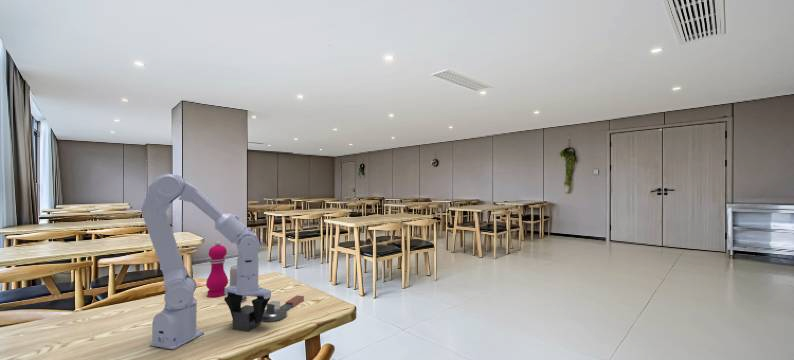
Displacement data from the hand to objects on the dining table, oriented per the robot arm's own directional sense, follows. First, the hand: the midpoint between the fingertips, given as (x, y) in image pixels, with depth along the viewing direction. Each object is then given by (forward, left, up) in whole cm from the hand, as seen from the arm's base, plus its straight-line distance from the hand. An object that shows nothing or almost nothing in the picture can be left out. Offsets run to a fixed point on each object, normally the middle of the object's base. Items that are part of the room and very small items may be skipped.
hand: (247, 320), depth 95 cm
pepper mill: (+20, +30, -2) cm, 36 cm away
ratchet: (+14, -3, -2) cm, 14 cm away
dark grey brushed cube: (0, 0, -2) cm, 2 cm away
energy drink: (+17, +18, -2) cm, 25 cm away
